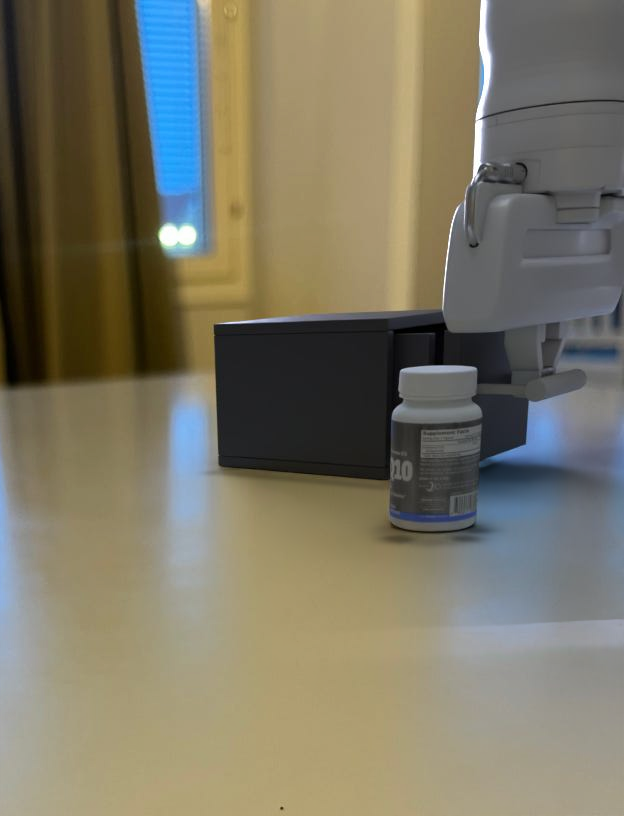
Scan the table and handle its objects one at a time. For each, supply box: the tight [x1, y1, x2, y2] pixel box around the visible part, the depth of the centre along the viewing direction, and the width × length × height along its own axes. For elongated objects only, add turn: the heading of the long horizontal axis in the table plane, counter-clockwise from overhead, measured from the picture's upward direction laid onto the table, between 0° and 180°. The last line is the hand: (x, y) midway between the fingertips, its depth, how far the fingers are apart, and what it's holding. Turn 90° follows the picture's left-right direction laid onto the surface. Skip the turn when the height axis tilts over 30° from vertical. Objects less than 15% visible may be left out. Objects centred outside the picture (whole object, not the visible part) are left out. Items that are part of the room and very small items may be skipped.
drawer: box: [392, 325, 588, 462], centre depth 70 cm, size 18×11×9 cm, turn 48°
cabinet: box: [213, 308, 446, 481], centre depth 75 cm, size 15×13×11 cm
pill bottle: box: [388, 365, 483, 532], centre depth 54 cm, size 5×5×8 cm
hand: (532, 395), depth 66 cm, fingers closed
